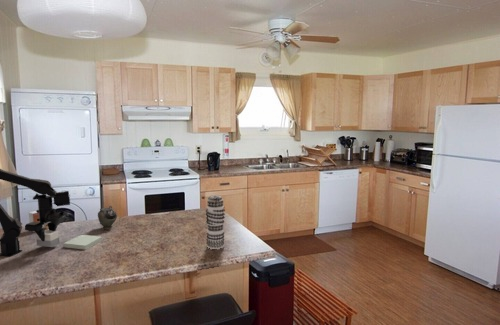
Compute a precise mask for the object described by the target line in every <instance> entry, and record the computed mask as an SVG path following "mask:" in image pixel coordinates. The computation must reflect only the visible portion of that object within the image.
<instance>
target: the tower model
mask: <svg viewBox="0 0 500 325" xmlns="http://www.w3.org/2000/svg"><path fill="white" fill-rule="evenodd" d="M224 200H225V199H224V198H223V197H222V196H221V195H217V194H214V195H209V196H208V198H206V201H207V203H206V204H207V205H206V210H205V216H206V218H205V220H206V222H205V223H206V225H207V229H206V231H207V232H206V248H207V247H208V248H207V249H209V248H210V249H209V250H212V249H217V250H221V249H220V248H222V249H223V248H224V247H225V231H224V223H225V220H224V219H225V217H226V216H225V213H224V212H225V211H226V209H225V206H224Z"/></svg>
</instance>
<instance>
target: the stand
mask: <svg viewBox="0 0 500 325" xmlns="http://www.w3.org/2000/svg"><path fill="white" fill-rule="evenodd" d="M102 241H103V237H102V236H97V235H89V234H88V235H87V234H81V235H78V236H75V237H74V238H72V239H69V240H68V241H66V242H64V243H63V247H64V248H69V249H77V250H78V249H79V250H84V251H85V250H88V249H89V248H92V247H93V246H95V245H97V244H99V243H101V242H102Z"/></svg>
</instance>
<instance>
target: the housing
mask: <svg viewBox="0 0 500 325" xmlns="http://www.w3.org/2000/svg"><path fill="white" fill-rule="evenodd" d="M35 236H36V246H38V247H47V248H52V247H55V246H57V245H59V244H60V232H59V230H56V231H51V230H49V229H46V230H45V241H42V240H41V239H40V238H39V236H38V235H37V233H36V232H35Z"/></svg>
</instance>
